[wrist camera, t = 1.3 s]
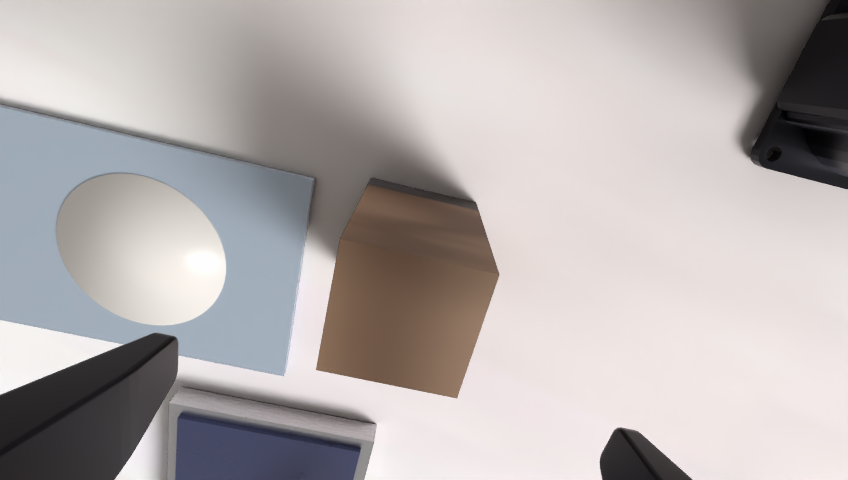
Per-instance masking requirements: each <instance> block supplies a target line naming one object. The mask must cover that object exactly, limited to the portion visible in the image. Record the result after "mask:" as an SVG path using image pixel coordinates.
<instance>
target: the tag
mask: <svg viewBox="0 0 848 480" xmlns="http://www.w3.org/2000/svg"><path fill="white" fill-rule="evenodd" d="M314 180H315V178H312V177H307V176H303V175H299V174H295V173H290V172H286V171H282V170H278V169H273V168H269V167H265V166H261V165H256V164H252V163H248V162H244V161H239V160H235V159H231V158H227V157H222V156H218V155H214V154H210V153H205V152H201V151H197V150H193V149H188V148H184V147H180V146H176V145H171V144H167V143H163V142H159V141H154V140H150V139H146V138H142V137H137V136H133V135H129V134H125V133H120V132H116V131H112V130H108V129H103V128H99V127H95V126H90V125H86V124H82V123H78V122H73V121H69V120H65V119H61V118H56V117H52V116H48V115H44V114H39V113H35V112H31V111H27V110H22V109H18V108H14V107H10V106H5V105H1V104H0V320H4V321H9V322H14V323H19V324H24V325H29V326H34V327H39V328H44V329H49V330H54V331H59V332H64V333H69V334H74V335H79V336H84V337H89V338H94V339H99V340H104V341H109V342H114V343H119V344H127V343H129V342H132V341H134V340H137V339H139V338H142V337H144V336H147V335H149V334H152V333H163V334H168V335H172V336H175V337H177V339H178V343H179V348H178V355H180V356H185V357H190V358H195V359H200V360H205V361H210V362H215V363H220V364H225V365H230V366H235V367H240V368H245V369H250V370H255V371H260V372H265V373H270V374H275V375H280V376H284V374H285V372H286V367H287V360H288V354H289V347H290V340H291V334H292V327H293V320H294V314H295V307H296V300H297V294H298V287H299V280H300V274H301V267H302V260H303V254H304V247H305V240H306V234H307V227H308V220H309V214H310V207H311V200H312V194H313V187H314Z"/></svg>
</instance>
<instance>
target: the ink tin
mask: <svg viewBox="0 0 848 480" xmlns="http://www.w3.org/2000/svg"><path fill="white" fill-rule="evenodd" d="M375 432H376V424H371V423H366V422H361V421H356V420H351V419H345V418H340V417H335V416H330V415H325V414H320V413H314V412H309V411H304V410H299V409H294V408H289V407H283V406H278V405H273V404H268V403H263V402H258V401H252V400H247V399H242V398H237V397H232V396H227V395H221V394H216V393H211V392H206V391H201V390H196V389H190V388H185V387H181V388H180V389H179V390H178V392H177V393H176V394H175V396H174V397H173V398H172V399H171V401H170V402H169V423H168V461H167V480H364V478H365V474H366V470H367V467H368V463H369V459H370V455H371V452H372V448H373V444H374V439H375Z"/></svg>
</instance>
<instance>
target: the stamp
mask: <svg viewBox="0 0 848 480" xmlns="http://www.w3.org/2000/svg"><path fill="white" fill-rule="evenodd" d="M498 277H499V272H498V269H497V266H496V263H495V260H494V257H493V254H492V250H491V247H490V244H489V241H488V238H487V235H486V232H485V229H484V226H483V223H482V220H481V216H480V213H479V210H478V207H477V204H476V202H472V201H467V200H463V199H459V198H455V197H450V196H446V195H442V194H438V193H434V192H429V191H425V190H421V189H417V188H413V187H408V186H404V185H400V184H396V183H392V182H387V181H383V180H379V179H375V178H371V179H370V181H369V183H368V185H367V187H366V189H365V191H364V193H363V194H362V196H361V198H360V200H359V202H358V204H357V206H356V208H355V210H354V212H353V214H352V216H351V218H350V220H349V222H348V224H347V226H346V228H345V230H344V232H343V234H342V236H341V238H340V241H339V247H338V252H337V258H336V263H335V269H334V274H333V280H332V285H331V291H330V296H329V302H328V307H327V313H326V318H325V324H324V329H323V335H322V340H321V346H320V351H319V357H318V362H317V368H316V370H319V371H324V372H329V373H334V374H339V375H344V376H349V377H354V378H359V379H364V380H369V381H374V382H379V383H384V384H389V385H394V386H398V387H403V388H408V389H413V390H418V391H423V392H428V393H433V394H438V395H443V396H448V397H453V398H457V397H458V394H459V391H460V388H461V385H462V382H463V379H464V376H465V373H466V370H467V367H468V365H469V362H470V359H471V356H472V353H473V350H474V347H475V344H476V341H477V338H478V335H479V332H480V330H481V327H482V324H483V321H484V318H485V315H486V312H487V309H488V306H489V303H490V300H491V297H492V295H493V292H494V289H495V286H496V283H497V280H498Z"/></svg>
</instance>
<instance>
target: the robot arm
mask: <svg viewBox="0 0 848 480" xmlns="http://www.w3.org/2000/svg"><path fill="white" fill-rule="evenodd" d="M771 148H773V153H772V155H771V156H770V157H769V158H766V154H767V152H768V151H769V149H771ZM751 160H752V162H753V163H754V164H756V165H758V166H760V167H763V168H767V169H771V170H774V171H778V172H782V173H786V174H790V175H794V176H798V177H802V178H806V179H809V180H813V181H817V182H821V183H825V184H829V185H833V186H837V187H840V188H844V189H848V0H830V2H829V4H828V5H827V7H826V9H825V11H824V13H823V15H822V17H821V19H820V21H819V22H818V23H817V25H816V27H815V29H814V31H813V33H812V35H811V36H810V38H809V40H808V42H807V44H806V46H805V48H804V50H803V52H802V54H801V56H800V57H799V59H798V61H797V63H796V65H795V67H794V69H793V71H792V73H791V75H790V77H789V78H788V80H787V82H786V84H785V86H784V88H783V90H782V92H781V94H780V96H779V98H778V101H777V103H776V105H775V107H774V108H773V110H772V112H771V114H770V116H769V118H768V120H767V122H766V124H765V126H764V128H763V129H762V131H761V133H760V135H759V137H758V139H757V141H756V143H755V145H754V147H753V149H752V152H751ZM178 348H179V343H178V339H177V337H175V336H172V335H168V334H163V333H152V334H149V335H147V336H144V337H142V338H139V339H137V340H134V341H132V342H129V343H127V344H124V345H122V346H120V347H117V348H115V349H112V350H110V351H107V352H105V353H102V354H100V355H97V356H95V357H92V358H90V359H87V360H85V361H83V362H80V363H78V364H75V365H73V366H70V367H68V368H65V369H63V370H60V371H58V372H55V373H53V374H51V375H48V376H46V377H43V378H41V379H38V380H36V381H33V382H31V383H28V384H26V385H23V386H21V387H18V388H16V389H14V390H11V391H9V392H6V393H4V394H1V395H0V480H114V479H115V478H116V477H117V475H118V474H119V472H120V471H121V470H122V468H123V467H124V465H125V464H126V462H127V461H128V460H129V458H130V457H131V455H132V453H133V452H134V450H135V449H136V447H137V445H138V444H139V442H140V440H141V438H142V437H143V435H144V433H145V432H146V430H147V428H148V426H149V425H150V423H151V421H152V419H153V418H154V416H155V414H156V412H157V411H158V409H159V407H160V406H161V404H162V402H163V400H164V399H165V397H166V395H167V393H168V392H169V390H170V388H171V386H172V385H173V383H174V381H175V379H176V376H177V372H178ZM600 470H601V475H602V480H692V479H691V478H690V477H689V476H688V475H687V474H686V473H684V472H683V471H682V470H681V469H680V468H679V467H678V466H677V465H675V464H674V463H673V462H672V461H671V460H670V459H669V458H668V457H666V456H665V455H664V454H663V453H662V452H661V451H660V450H659V449H657V448H656V447H655V446H654V445H653V444H652V443H651V442H650V441H648V440H647V439H646V438H645V437H644V436H643V435H642V434H641V433H639V432H638V431H635V430H631V429H626V428H617V429H615V430H614V432H613V433H612V435H611V437H610V439H609V441H608V443H607V445H606V446H605V448H604V450H603V452H602V454H601V457H600Z"/></svg>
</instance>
